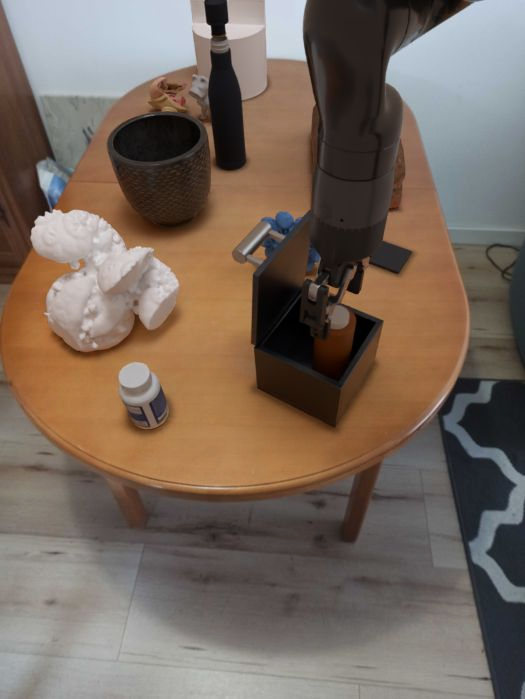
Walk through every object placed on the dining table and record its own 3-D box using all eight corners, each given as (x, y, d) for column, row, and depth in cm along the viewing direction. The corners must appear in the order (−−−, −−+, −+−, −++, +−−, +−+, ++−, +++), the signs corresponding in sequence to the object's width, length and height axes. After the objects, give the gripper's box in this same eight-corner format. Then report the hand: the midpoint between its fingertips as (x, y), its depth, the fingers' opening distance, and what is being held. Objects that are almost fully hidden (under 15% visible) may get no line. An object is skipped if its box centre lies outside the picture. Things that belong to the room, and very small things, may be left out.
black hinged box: (374, 363, 75) (384, 320, 67) (335, 428, 69) (341, 389, 61) (300, 330, 79) (301, 286, 72) (257, 388, 73) (253, 347, 65)
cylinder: (208, 67, 136) (193, -64, 113) (272, 70, 133) (269, -63, 111) (192, 99, 125) (172, -38, 103) (261, 103, 123) (255, -37, 101)
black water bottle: (246, 169, 106) (234, 6, 82) (215, 171, 106) (195, 8, 83) (246, 152, 110) (234, -8, 86) (216, 154, 110) (197, -6, 87)
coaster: (411, 253, 89) (412, 251, 89) (398, 274, 86) (398, 271, 86) (380, 242, 91) (380, 239, 91) (365, 262, 88) (366, 259, 88)
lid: (315, 211, 60) (273, 193, 62) (258, 276, 54) (214, 254, 56) (303, 285, 71) (268, 268, 73) (255, 346, 65) (218, 326, 67)
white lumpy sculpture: (-16, 308, 72) (51, 186, 72) (75, 332, 91) (129, 236, 90) (75, 373, 66) (150, 240, 65) (153, 385, 85) (211, 282, 84)
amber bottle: (352, 373, 73) (363, 308, 62) (336, 398, 71) (345, 336, 60) (321, 359, 75) (327, 293, 64) (305, 383, 72) (308, 320, 61)
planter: (176, 255, 91) (158, 177, 78) (110, 221, 98) (84, 144, 85) (235, 206, 99) (228, 128, 86) (171, 177, 106) (155, 101, 93)
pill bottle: (162, 391, 73) (148, 351, 66) (174, 420, 70) (160, 382, 63) (126, 406, 72) (107, 366, 64) (137, 436, 69) (118, 398, 61)
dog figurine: (188, 125, 118) (180, 78, 110) (222, 102, 124) (217, 55, 116) (205, 132, 116) (198, 84, 108) (239, 107, 122) (235, 60, 114)
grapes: (253, 284, 86) (249, 227, 76) (260, 257, 90) (257, 200, 80) (321, 290, 84) (326, 234, 75) (326, 263, 88) (330, 206, 79)
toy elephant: (191, 124, 119) (159, 104, 112) (165, 134, 126) (133, 116, 119) (197, 87, 120) (165, 65, 113) (170, 99, 127) (138, 79, 119)
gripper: (352, 258, 44) (337, 366, 57) (415, 173, 51) (388, 287, 64) (278, 230, 46) (279, 340, 59) (347, 153, 53) (335, 266, 66)
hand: (336, 312), depth 61 cm, fingers open, 8 cm apart
